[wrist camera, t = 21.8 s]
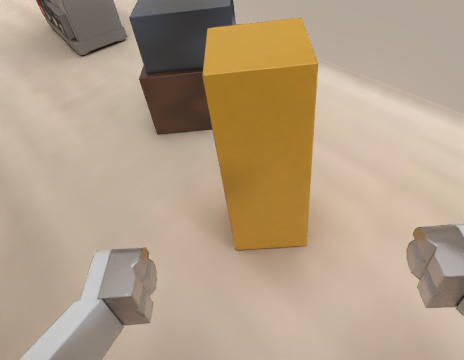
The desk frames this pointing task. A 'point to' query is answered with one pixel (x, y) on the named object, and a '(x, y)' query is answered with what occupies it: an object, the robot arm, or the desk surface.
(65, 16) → the tall grey box
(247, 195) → the bar
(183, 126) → the tower
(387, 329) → the desk surface
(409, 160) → the desk surface
